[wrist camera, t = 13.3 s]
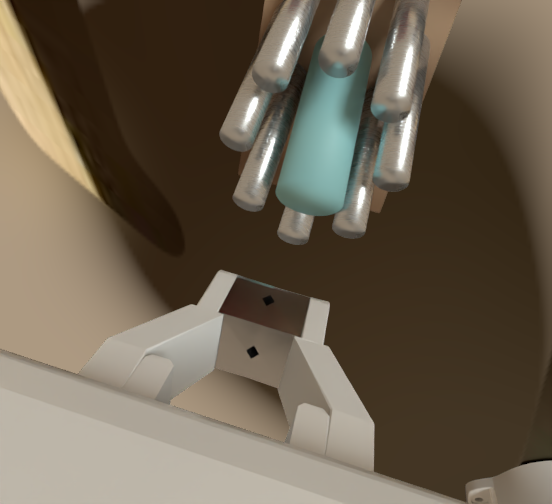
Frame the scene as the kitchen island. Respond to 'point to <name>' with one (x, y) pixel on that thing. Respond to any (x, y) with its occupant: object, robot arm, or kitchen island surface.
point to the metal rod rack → (339, 64)
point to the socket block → (436, 29)
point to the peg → (323, 138)
